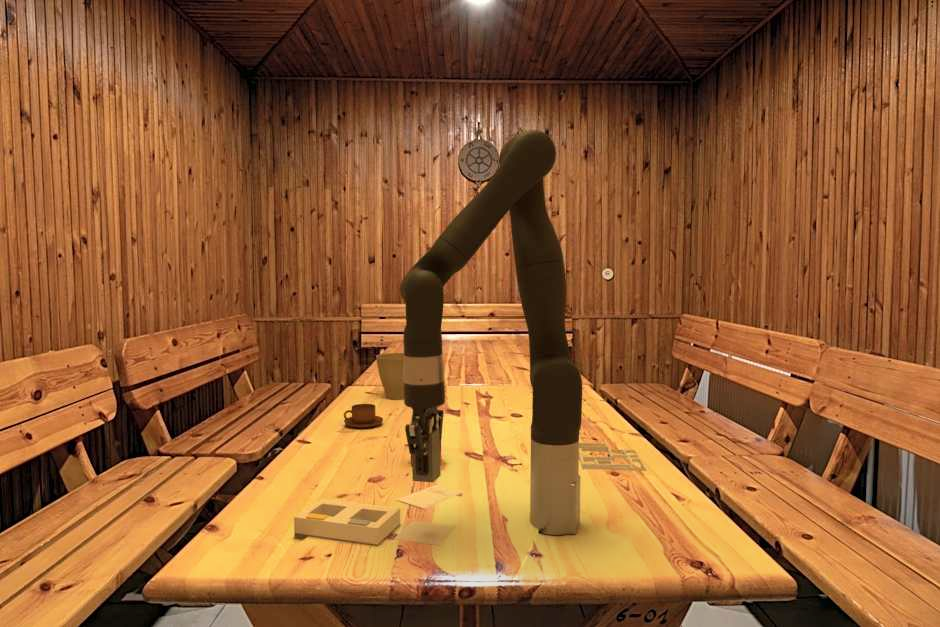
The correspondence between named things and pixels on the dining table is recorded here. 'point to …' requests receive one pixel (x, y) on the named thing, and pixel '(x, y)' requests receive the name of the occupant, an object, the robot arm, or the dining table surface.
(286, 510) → the dining table surface
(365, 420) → the cup and saucer
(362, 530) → the socket block
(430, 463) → the plug
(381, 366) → the plant pot
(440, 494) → the external hard drive
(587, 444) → the floor plan model
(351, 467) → the dining table surface
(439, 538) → the mat
